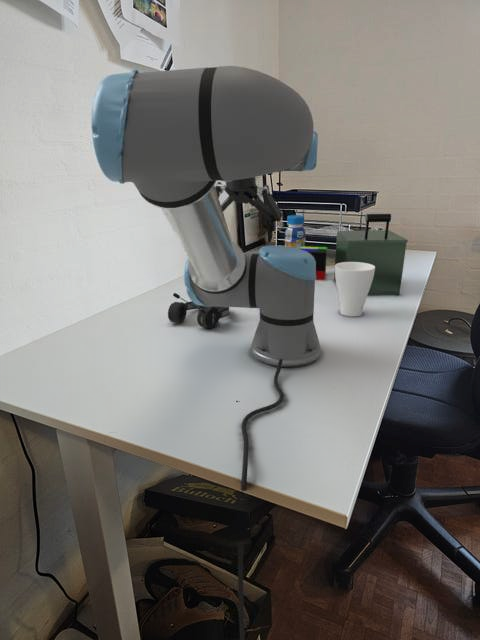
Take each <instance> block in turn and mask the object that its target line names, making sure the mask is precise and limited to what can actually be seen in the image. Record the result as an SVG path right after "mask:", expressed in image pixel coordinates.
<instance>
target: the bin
mask: <svg viewBox="0 0 480 640" xmlns="http://www.w3.org/2000/svg"><path fill="white" fill-rule="evenodd" d="M407 243H408V242H403V243H348V242H347V241H346V240H344V239H343V238H342V237H341V236H340V235H339V234H338V233H337V232H336V243H335V245H336V246H335V256H334V257H335V259H334V266H335V265H336V264H338V263H342V262H362V263H368V264H371V265H374V266H375V272H374V277H373V280H372V284H371V287H370V290H369V292H368V295H367V296H400V294H401V286H402V279H403V272H404V264H405V257H406V250H407ZM333 281H334V283H335V284H336V278H335V270H334V274H333Z"/></svg>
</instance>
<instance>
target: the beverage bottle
mask: <svg viewBox="0 0 480 640" xmlns="http://www.w3.org/2000/svg"><path fill="white" fill-rule="evenodd" d="M286 218H287V219H286V224H287V228H286V229H285V231H284V235H285V237H284V246H286V247H292V248H297V249H299V248H300V247H306V230H305V228H304V225H305V216H304V215H302V214H292V215H288V216H287V217H286Z"/></svg>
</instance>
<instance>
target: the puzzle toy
mask: <svg viewBox="0 0 480 640" xmlns="http://www.w3.org/2000/svg"><path fill="white" fill-rule="evenodd" d="M299 249H300V250H303V251H306V252H308V253H310V254H311V255H312V256H313V257H314V259H315V262H316V280H315V281H325V279H326V273H327V260H328V246H327V247H326V246H305V247H300V248H299Z"/></svg>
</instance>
